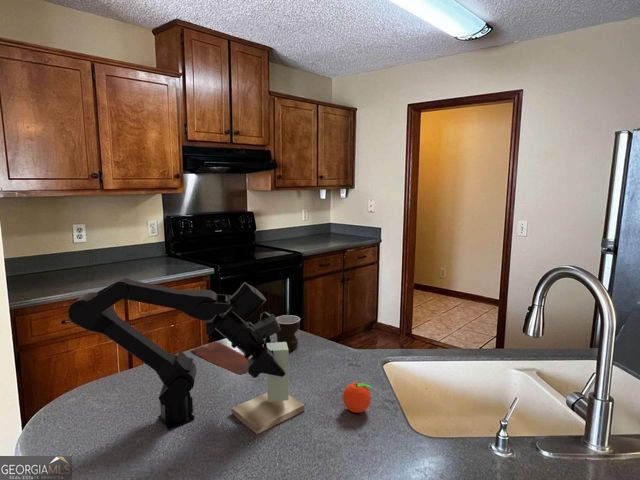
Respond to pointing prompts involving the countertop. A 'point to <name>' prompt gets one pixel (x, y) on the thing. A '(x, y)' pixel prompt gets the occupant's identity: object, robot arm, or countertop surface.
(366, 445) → the countertop surface
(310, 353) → the countertop surface
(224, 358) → the wooden tablet
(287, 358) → the green block
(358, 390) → the clementine
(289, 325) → the coffee mug
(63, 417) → the countertop surface
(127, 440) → the countertop surface
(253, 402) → the birch board
